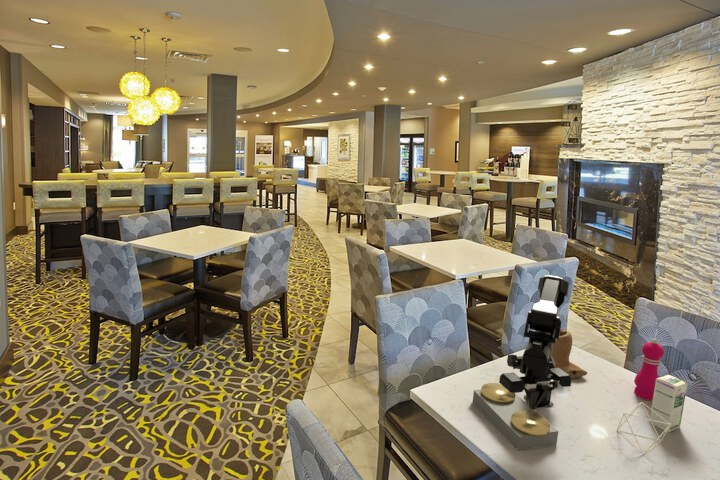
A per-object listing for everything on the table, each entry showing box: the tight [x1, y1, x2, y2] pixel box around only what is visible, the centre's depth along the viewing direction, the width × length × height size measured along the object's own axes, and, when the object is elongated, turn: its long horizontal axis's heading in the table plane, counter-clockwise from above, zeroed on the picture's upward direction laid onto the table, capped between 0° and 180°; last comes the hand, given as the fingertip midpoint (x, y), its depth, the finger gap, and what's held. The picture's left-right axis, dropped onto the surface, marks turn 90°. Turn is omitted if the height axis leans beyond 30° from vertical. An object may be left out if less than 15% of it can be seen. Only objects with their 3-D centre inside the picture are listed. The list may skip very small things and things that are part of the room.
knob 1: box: [480, 382, 515, 404], centre depth 141 cm, size 10×10×5 cm
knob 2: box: [511, 411, 551, 436], centre depth 126 cm, size 10×10×5 cm
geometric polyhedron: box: [616, 401, 671, 456], centre depth 126 cm, size 12×11×9 cm
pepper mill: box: [633, 338, 665, 401], centre depth 150 cm, size 7×7×20 cm
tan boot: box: [552, 328, 588, 379], centre depth 165 cm, size 15×12×15 cm
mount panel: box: [472, 388, 559, 451], centre depth 133 cm, size 12×24×4 cm, turn 15°
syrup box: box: [648, 374, 688, 433], centre depth 134 cm, size 6×6×14 cm
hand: (531, 408), depth 124 cm, fingers closed
